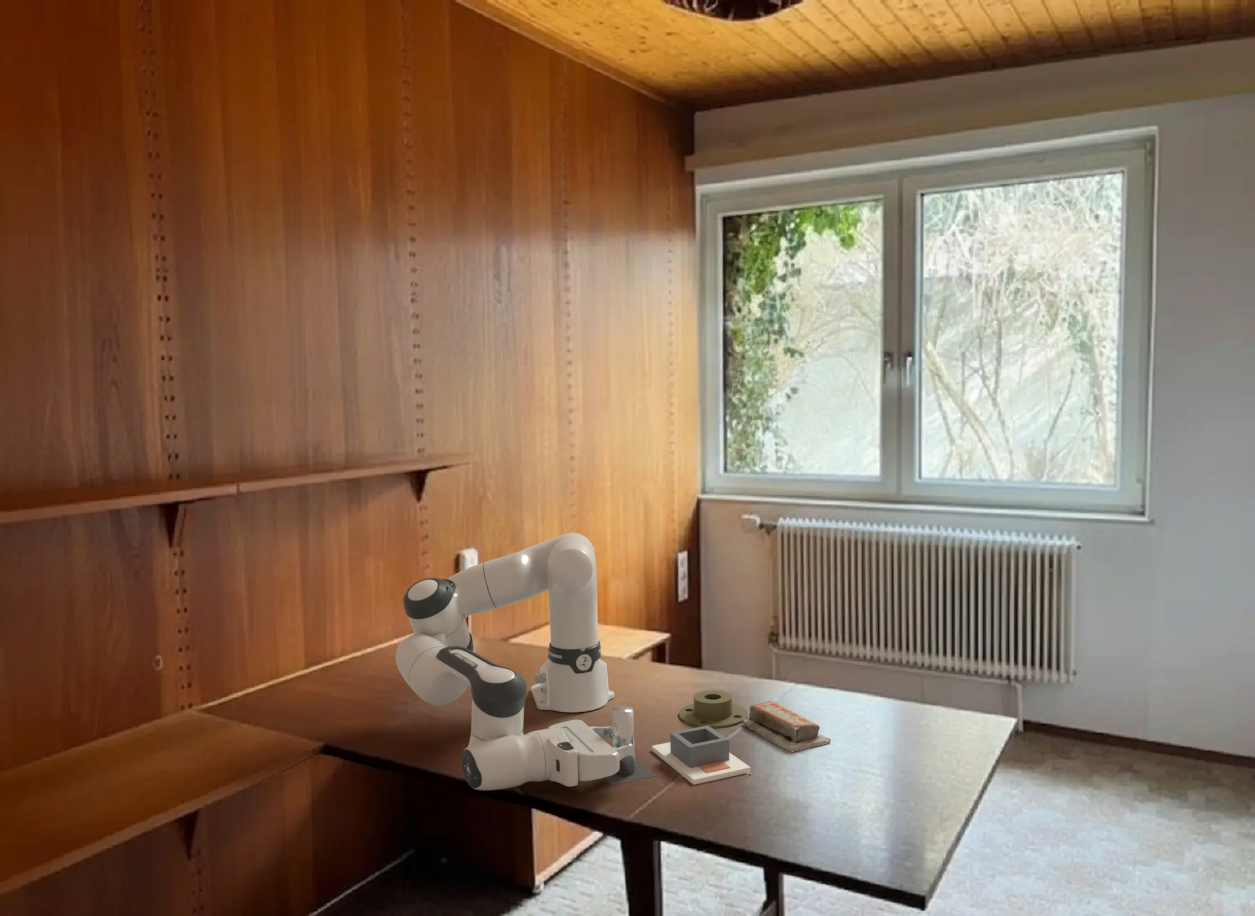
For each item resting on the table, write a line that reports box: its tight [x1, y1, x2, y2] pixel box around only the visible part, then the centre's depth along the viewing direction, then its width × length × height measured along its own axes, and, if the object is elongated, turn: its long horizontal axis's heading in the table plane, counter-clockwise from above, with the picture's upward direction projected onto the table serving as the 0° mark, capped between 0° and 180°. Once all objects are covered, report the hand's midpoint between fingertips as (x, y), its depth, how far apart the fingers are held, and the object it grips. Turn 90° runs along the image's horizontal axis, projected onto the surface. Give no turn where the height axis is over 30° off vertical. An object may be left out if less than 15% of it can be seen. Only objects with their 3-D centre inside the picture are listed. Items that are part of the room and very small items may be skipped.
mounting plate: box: [651, 725, 752, 785], centre depth 182 cm, size 18×12×6 cm, turn 24°
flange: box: [678, 689, 748, 729], centre depth 208 cm, size 5×15×15 cm
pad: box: [603, 758, 657, 787], centre depth 178 cm, size 9×9×1 cm
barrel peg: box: [611, 705, 636, 776], centre depth 177 cm, size 4×4×12 cm
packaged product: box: [742, 700, 832, 753], centre depth 196 cm, size 18×5×10 cm
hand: (622, 739), depth 177 cm, fingers open, 8 cm apart
